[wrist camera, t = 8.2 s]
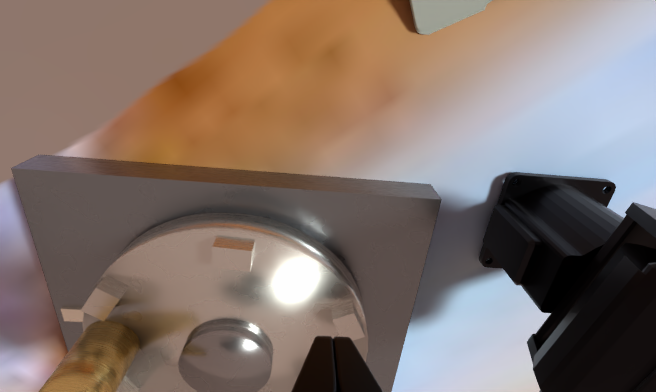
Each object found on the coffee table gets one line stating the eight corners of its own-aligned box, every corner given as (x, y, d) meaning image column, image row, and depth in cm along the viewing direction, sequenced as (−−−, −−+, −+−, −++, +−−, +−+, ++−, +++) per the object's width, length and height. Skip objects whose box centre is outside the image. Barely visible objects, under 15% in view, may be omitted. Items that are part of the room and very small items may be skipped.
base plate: (430, 184, 21) (442, 201, 19) (379, 395, 29) (384, 422, 27) (38, 154, 20) (8, 169, 18) (101, 385, 28) (84, 413, 26)
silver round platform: (390, 231, 20) (425, 329, 14) (340, 413, 27) (347, 534, 20) (85, 194, 18) (-36, 284, 12) (115, 397, 25) (48, 523, 19)
